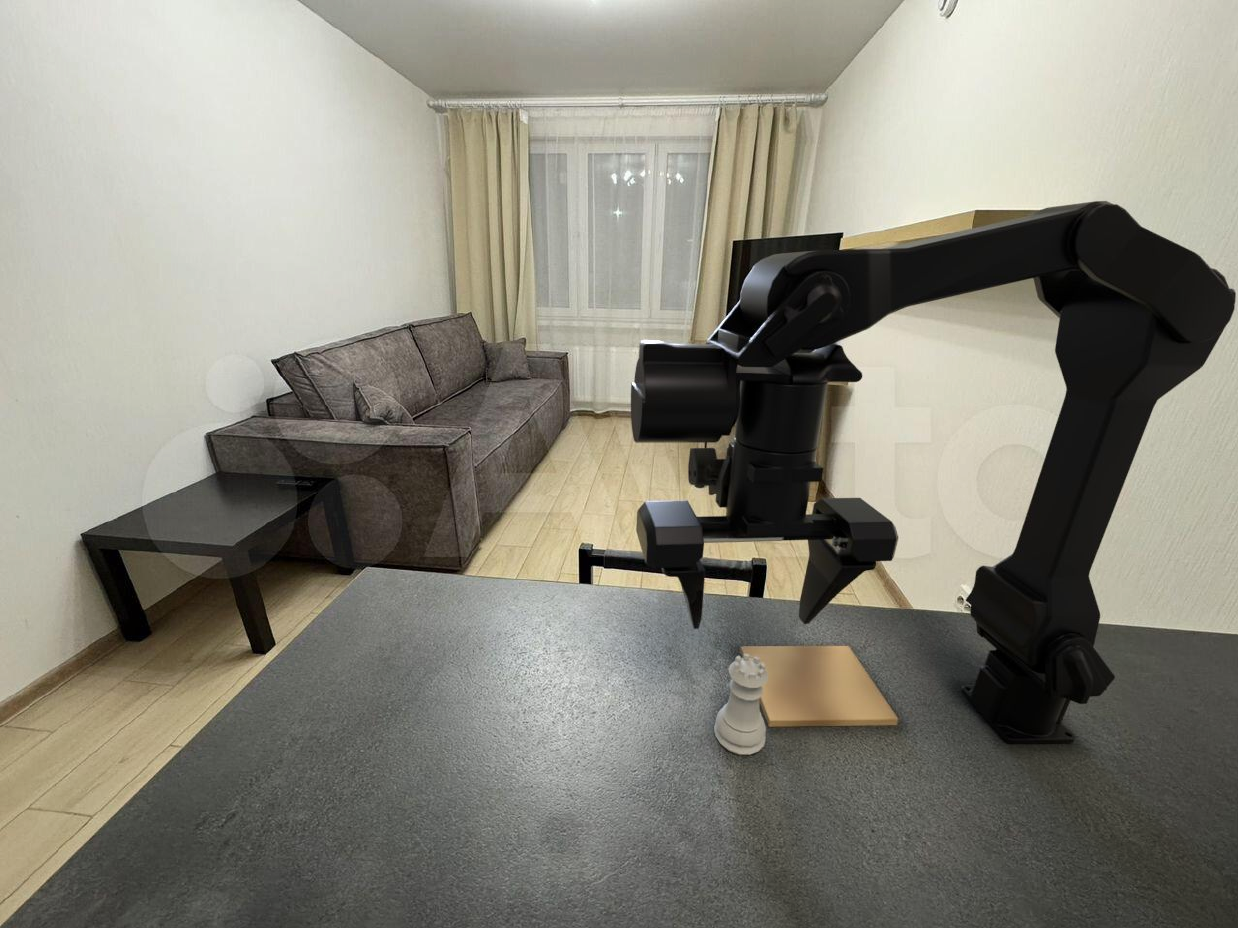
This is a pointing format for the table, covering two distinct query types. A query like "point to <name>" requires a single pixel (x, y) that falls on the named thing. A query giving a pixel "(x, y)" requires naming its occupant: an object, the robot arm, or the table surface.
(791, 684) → the coaster board
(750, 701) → the white chess queen
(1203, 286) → the robot arm
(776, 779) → the table surface
